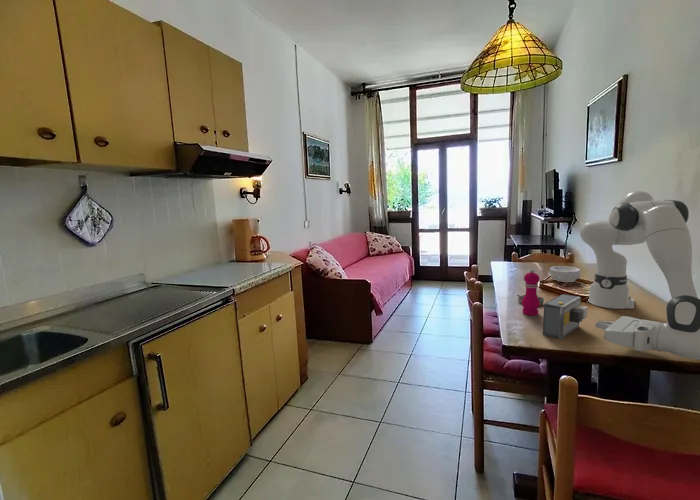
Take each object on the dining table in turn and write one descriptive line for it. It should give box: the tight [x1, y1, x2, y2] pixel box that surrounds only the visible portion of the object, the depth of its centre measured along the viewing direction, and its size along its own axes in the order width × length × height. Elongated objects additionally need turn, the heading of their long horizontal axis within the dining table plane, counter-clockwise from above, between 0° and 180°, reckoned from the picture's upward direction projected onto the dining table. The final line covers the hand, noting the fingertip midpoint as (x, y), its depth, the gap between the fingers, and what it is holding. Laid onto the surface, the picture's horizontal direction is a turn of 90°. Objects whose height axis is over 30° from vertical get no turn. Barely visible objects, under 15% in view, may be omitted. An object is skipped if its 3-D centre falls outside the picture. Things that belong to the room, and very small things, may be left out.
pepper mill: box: [521, 268, 541, 317], centre depth 157 cm, size 7×7×20 cm
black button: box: [569, 308, 583, 324], centre depth 134 cm, size 4×4×4 cm
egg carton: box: [516, 294, 545, 306], centre depth 173 cm, size 11×8×4 cm
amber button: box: [564, 312, 570, 325], centre depth 133 cm, size 4×4×4 cm
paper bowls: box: [549, 265, 581, 283], centre depth 210 cm, size 15×15×8 cm
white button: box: [575, 305, 589, 320], centre depth 138 cm, size 4×4×4 cm
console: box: [542, 293, 582, 340], centre depth 137 cm, size 18×6×13 cm, turn 130°
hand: (596, 323), depth 124 cm, fingers closed
